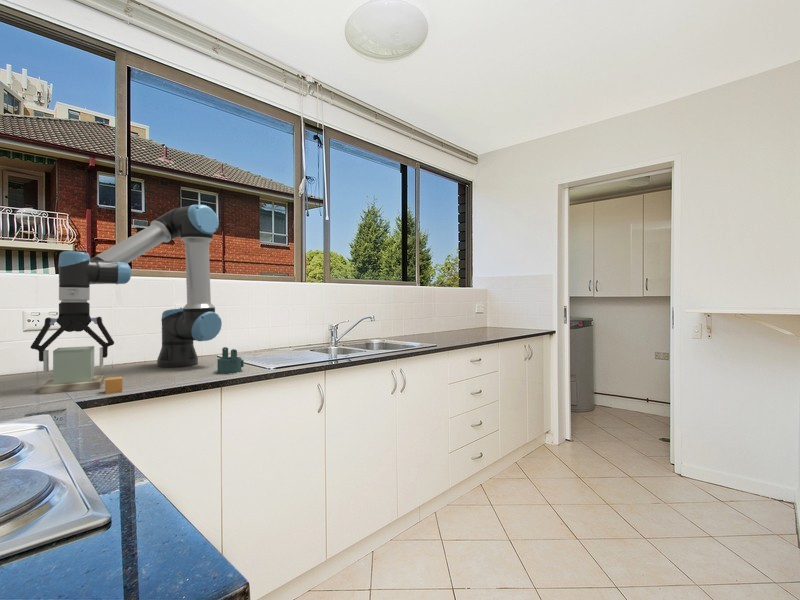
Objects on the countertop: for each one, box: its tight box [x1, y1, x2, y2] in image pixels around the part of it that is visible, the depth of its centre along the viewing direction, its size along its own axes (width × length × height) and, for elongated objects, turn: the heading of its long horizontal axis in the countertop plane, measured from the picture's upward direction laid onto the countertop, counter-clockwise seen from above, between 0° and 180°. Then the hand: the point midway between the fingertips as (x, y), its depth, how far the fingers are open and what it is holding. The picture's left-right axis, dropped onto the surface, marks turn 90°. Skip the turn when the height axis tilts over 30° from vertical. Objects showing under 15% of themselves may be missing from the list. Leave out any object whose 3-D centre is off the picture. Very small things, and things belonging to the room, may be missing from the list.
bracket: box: [217, 346, 245, 375], centre depth 156 cm, size 9×9×9 cm
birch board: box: [39, 374, 105, 395], centre depth 128 cm, size 14×14×2 cm
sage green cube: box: [52, 345, 95, 385], centre depth 128 cm, size 9×9×10 cm
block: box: [104, 376, 124, 394], centre depth 122 cm, size 4×4×4 cm
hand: (74, 370), depth 128 cm, fingers open, 13 cm apart
